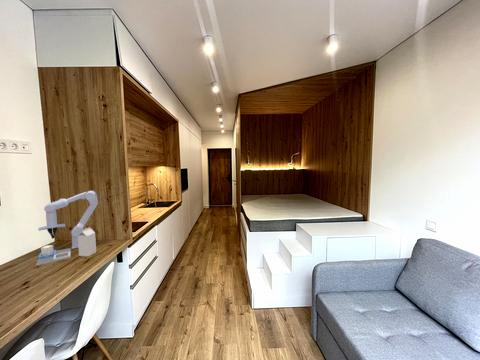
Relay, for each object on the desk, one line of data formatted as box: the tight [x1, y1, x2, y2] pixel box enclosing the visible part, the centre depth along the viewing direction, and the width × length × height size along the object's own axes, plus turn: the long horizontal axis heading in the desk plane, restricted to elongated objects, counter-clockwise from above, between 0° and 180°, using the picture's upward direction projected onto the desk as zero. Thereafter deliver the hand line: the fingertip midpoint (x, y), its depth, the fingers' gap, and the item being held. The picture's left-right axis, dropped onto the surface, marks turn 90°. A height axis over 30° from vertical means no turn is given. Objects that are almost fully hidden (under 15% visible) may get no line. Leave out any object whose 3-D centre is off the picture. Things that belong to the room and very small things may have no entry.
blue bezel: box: [38, 249, 57, 259], centre depth 146 cm, size 9×11×1 cm
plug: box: [40, 244, 55, 256], centre depth 146 cm, size 4×4×6 cm
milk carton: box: [78, 226, 97, 257], centre depth 147 cm, size 7×7×19 cm
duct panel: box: [35, 247, 72, 266], centre depth 144 cm, size 17×21×2 cm
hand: (53, 238), depth 154 cm, fingers closed
